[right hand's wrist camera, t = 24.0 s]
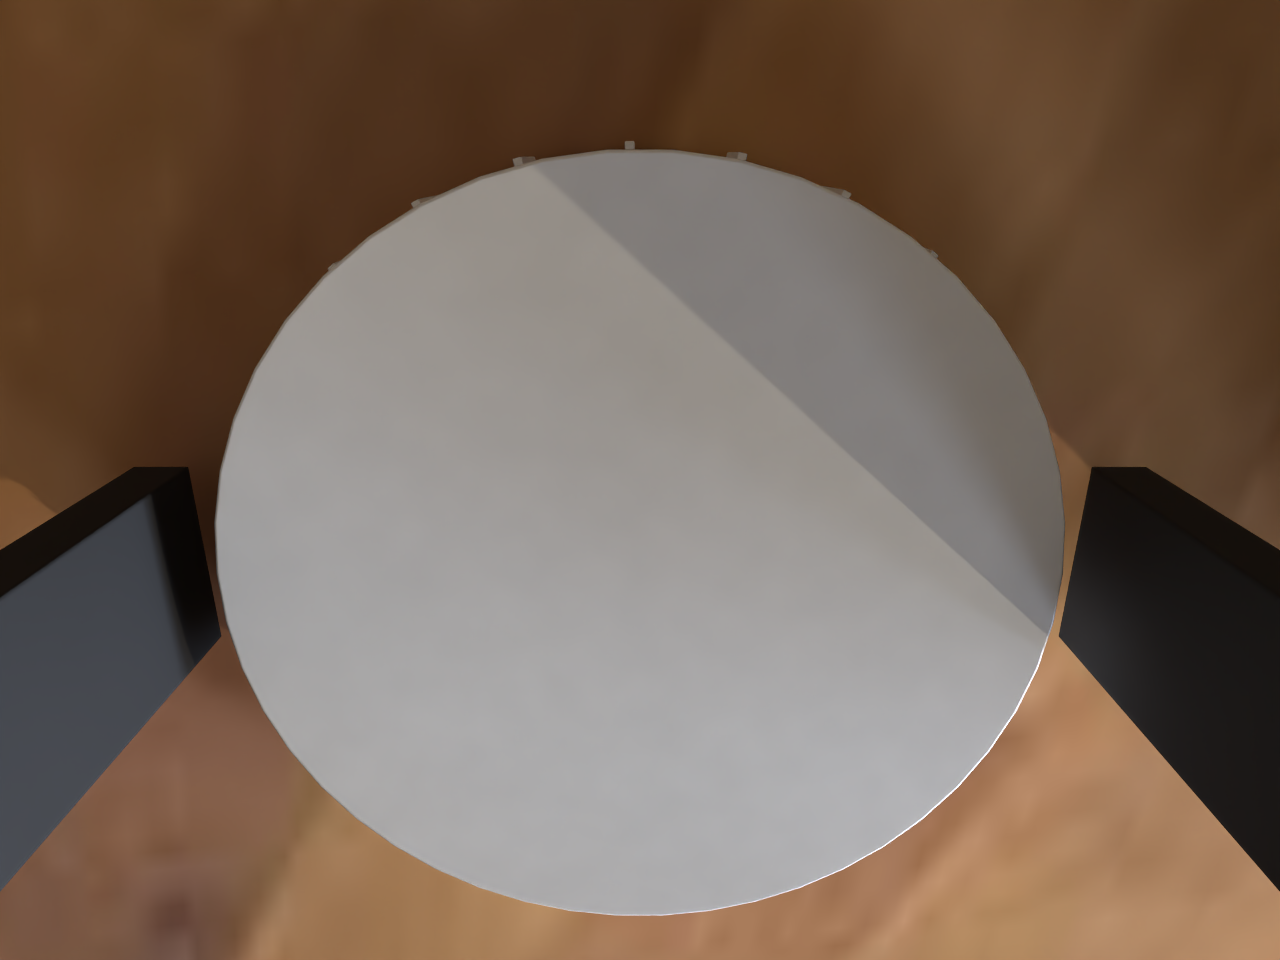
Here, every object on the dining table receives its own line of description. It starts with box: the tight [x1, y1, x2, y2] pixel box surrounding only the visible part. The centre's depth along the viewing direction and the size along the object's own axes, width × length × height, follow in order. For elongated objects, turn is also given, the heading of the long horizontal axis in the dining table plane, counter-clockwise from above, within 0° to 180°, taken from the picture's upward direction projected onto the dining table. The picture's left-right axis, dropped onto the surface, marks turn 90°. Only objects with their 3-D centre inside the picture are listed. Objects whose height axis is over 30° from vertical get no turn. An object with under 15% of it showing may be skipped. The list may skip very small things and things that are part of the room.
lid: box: [215, 141, 1065, 915], centre depth 12 cm, size 11×11×2 cm
